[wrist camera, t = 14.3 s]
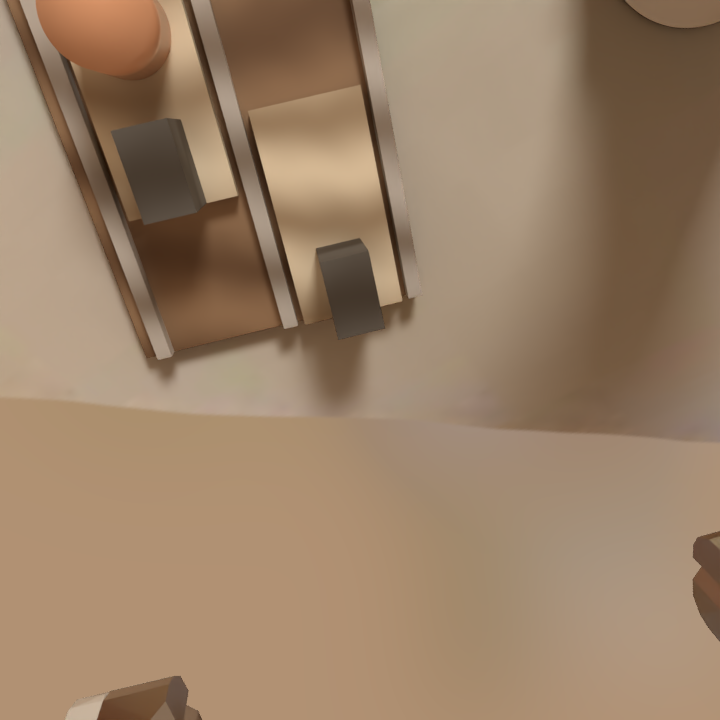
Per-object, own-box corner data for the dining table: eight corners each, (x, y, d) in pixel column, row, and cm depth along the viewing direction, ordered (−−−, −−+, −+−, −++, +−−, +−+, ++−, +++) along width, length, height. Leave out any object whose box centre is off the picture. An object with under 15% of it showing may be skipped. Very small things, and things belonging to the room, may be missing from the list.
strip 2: (248, 111, 36) (242, 108, 31) (358, 85, 36) (370, 78, 31) (304, 320, 41) (307, 347, 36) (399, 297, 41) (415, 320, 36)
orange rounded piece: (63, -10, 32) (16, -40, 26) (153, -30, 32) (125, -64, 26) (98, 89, 33) (62, 81, 28) (183, 69, 34) (163, 58, 28)
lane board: (1, -31, 33) (-17, -40, 31) (344, -107, 33) (348, -121, 31) (149, 353, 42) (143, 363, 40) (416, 288, 42) (422, 295, 41)
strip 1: (41, -33, 32) (-6, -64, 27) (165, -61, 32) (143, -96, 27) (132, 219, 37) (108, 233, 32) (239, 194, 37) (231, 204, 32)
